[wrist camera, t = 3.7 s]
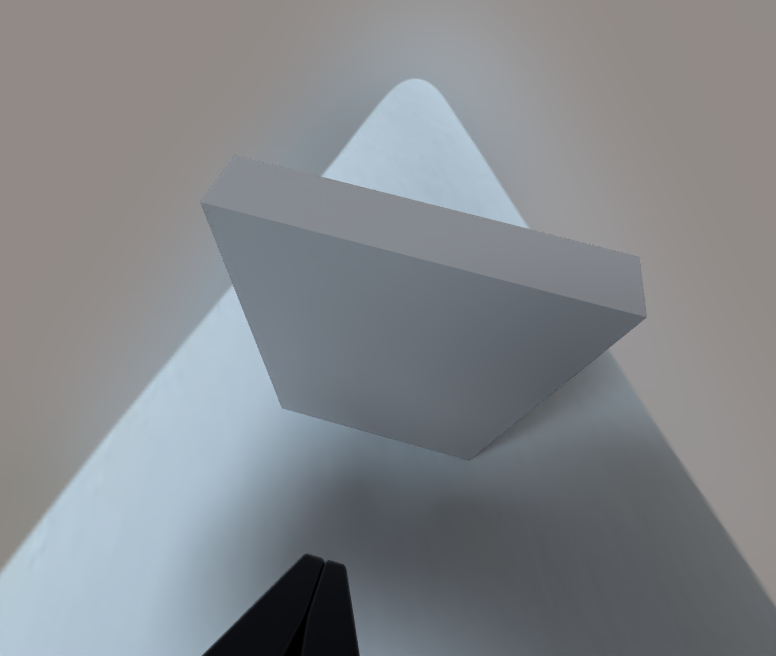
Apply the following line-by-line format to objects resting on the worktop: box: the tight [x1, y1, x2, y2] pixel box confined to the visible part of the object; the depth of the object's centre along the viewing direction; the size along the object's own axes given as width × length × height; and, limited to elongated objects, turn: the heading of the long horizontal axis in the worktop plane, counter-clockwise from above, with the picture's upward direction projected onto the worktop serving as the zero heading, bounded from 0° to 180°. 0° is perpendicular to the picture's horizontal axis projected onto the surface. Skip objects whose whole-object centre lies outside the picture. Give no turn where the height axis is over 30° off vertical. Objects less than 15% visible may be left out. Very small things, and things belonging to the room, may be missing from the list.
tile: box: [200, 155, 647, 460], centre depth 12 cm, size 2×8×11 cm, turn 76°
